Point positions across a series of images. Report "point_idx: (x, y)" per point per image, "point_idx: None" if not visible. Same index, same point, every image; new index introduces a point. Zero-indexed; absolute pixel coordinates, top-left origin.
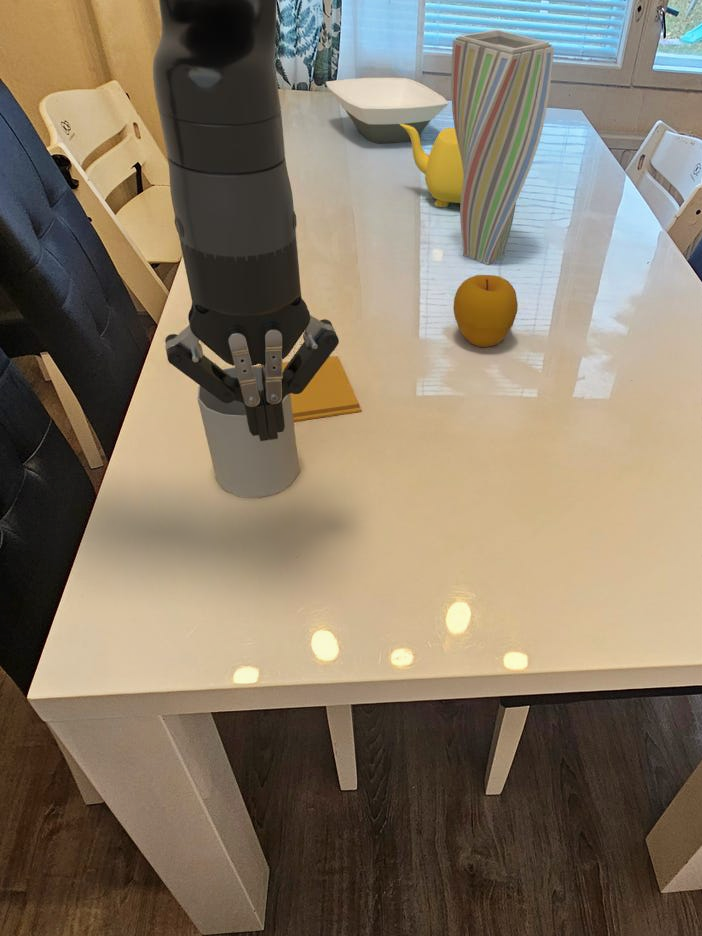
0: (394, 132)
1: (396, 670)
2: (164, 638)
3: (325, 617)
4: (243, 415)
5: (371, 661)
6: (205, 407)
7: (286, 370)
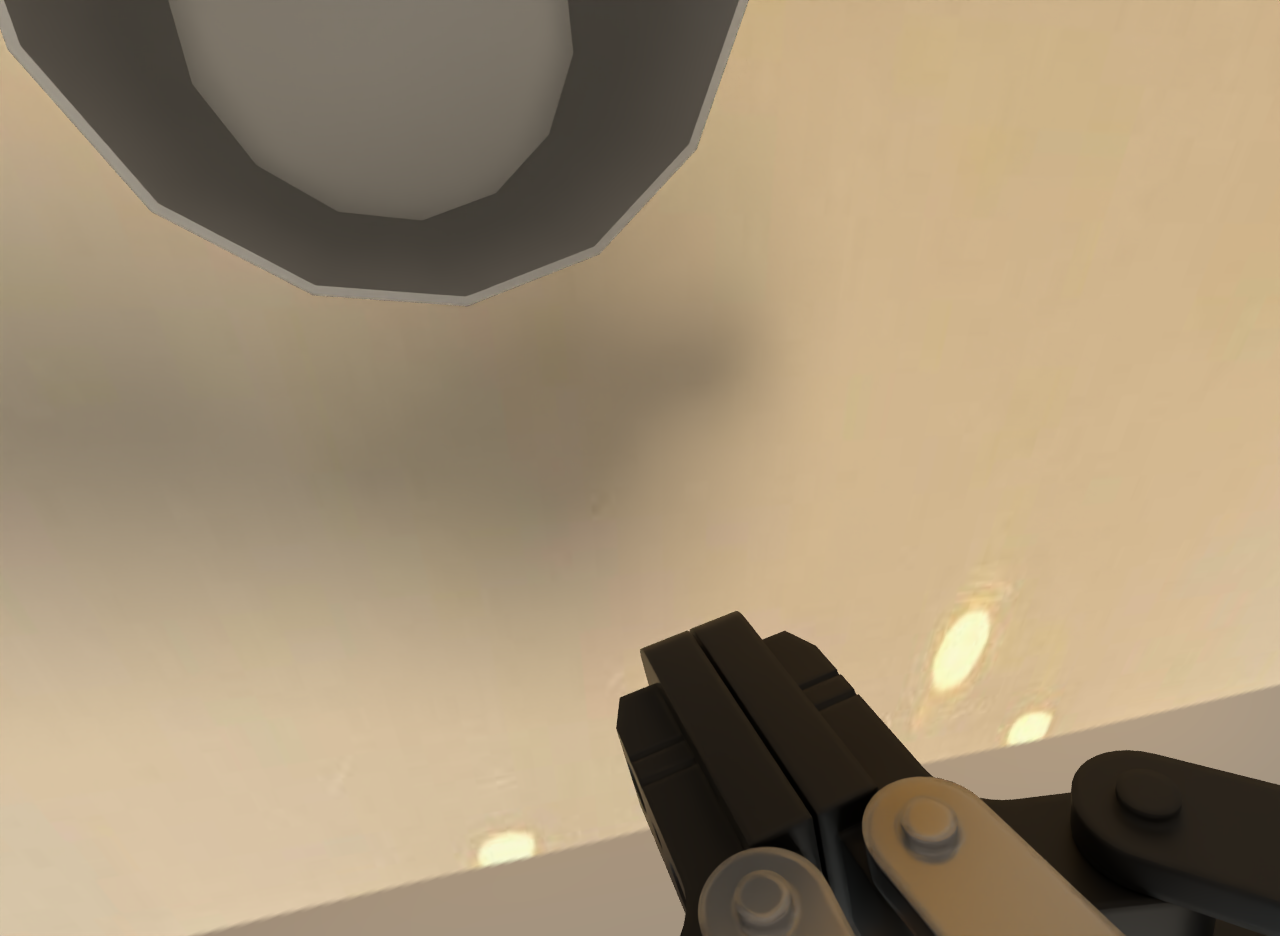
0: None
1: None
2: (269, 806)
3: None
4: None
5: None
6: (140, 196)
7: (1151, 902)
